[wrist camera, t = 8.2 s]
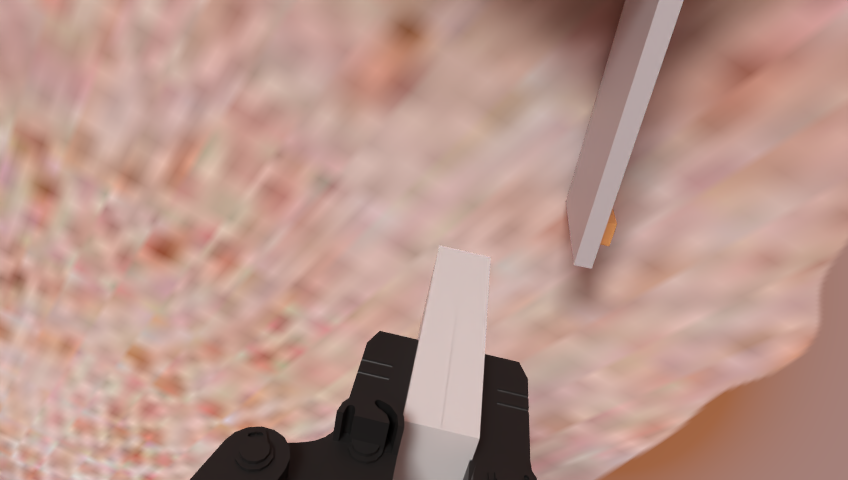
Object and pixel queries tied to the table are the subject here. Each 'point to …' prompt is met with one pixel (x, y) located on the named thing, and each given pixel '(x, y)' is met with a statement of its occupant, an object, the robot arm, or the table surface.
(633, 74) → the door
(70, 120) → the table surface
